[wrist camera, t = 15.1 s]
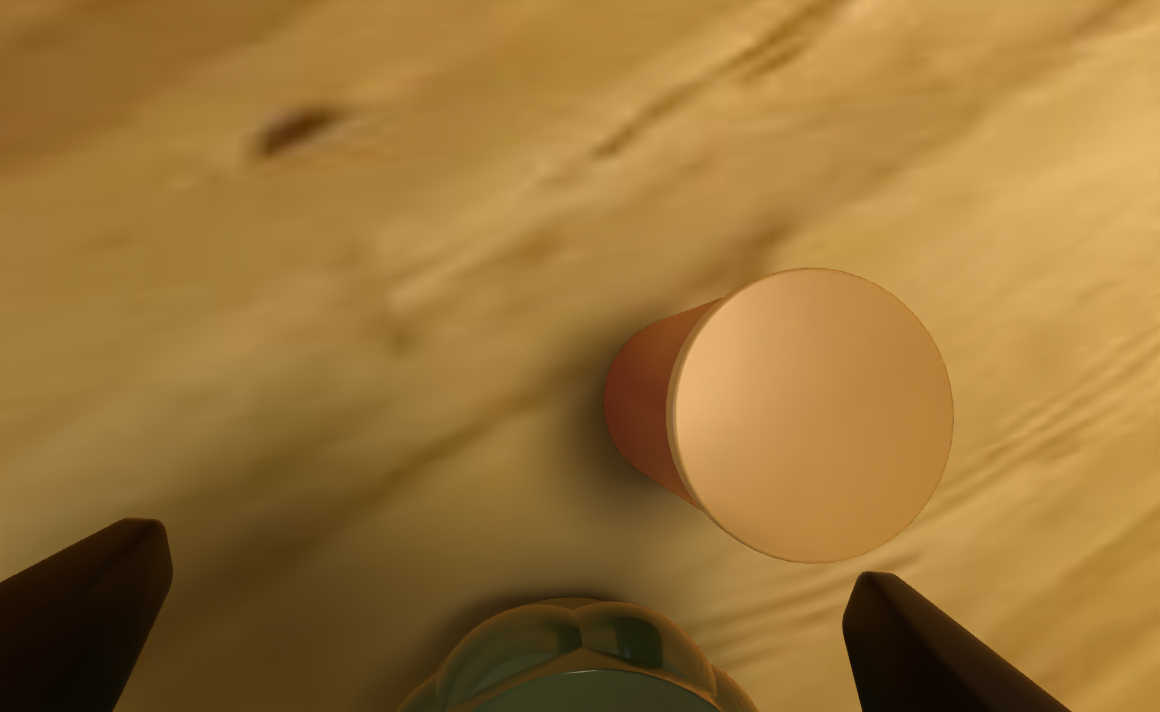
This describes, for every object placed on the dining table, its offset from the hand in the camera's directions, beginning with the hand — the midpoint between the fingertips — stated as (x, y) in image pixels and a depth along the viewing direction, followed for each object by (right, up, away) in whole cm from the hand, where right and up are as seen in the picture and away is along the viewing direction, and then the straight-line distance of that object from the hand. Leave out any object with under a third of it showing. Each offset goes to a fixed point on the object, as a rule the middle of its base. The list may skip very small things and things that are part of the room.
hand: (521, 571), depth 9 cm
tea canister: (+4, +1, +13) cm, 14 cm away
